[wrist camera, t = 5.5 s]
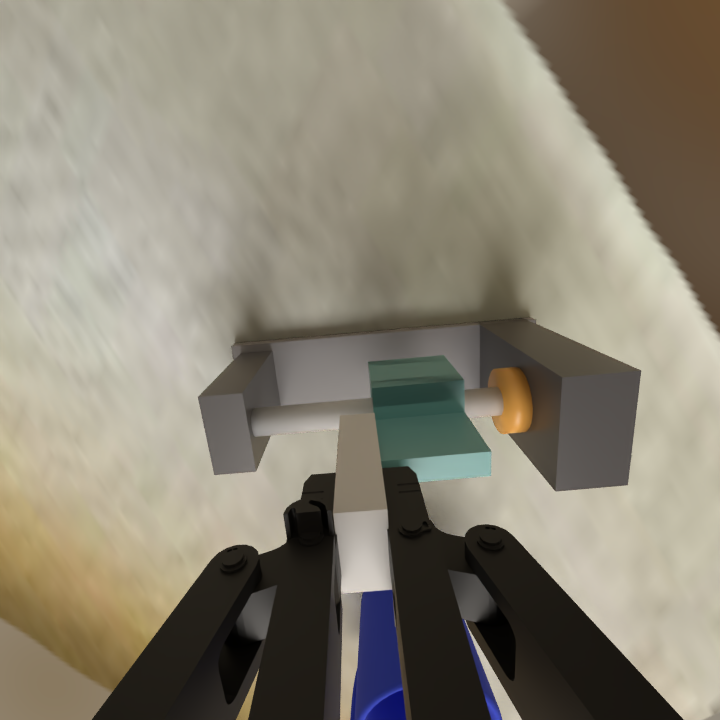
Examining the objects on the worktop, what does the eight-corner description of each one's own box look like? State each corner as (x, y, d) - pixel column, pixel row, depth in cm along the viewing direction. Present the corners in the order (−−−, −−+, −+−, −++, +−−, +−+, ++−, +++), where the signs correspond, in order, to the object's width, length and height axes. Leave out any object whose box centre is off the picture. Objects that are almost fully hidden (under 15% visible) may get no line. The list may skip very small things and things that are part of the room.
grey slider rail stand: (247, 414, 27) (183, 523, 17) (234, 343, 26) (155, 413, 15) (527, 390, 27) (639, 484, 17) (530, 317, 26) (654, 369, 15)
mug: (310, 636, 33) (294, 798, 23) (387, 526, 30) (405, 659, 21) (396, 671, 34) (414, 839, 25) (477, 570, 32) (533, 714, 22)
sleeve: (373, 430, 22) (384, 519, 15) (367, 361, 21) (376, 422, 14) (445, 424, 22) (491, 511, 15) (443, 355, 21) (491, 412, 14)
